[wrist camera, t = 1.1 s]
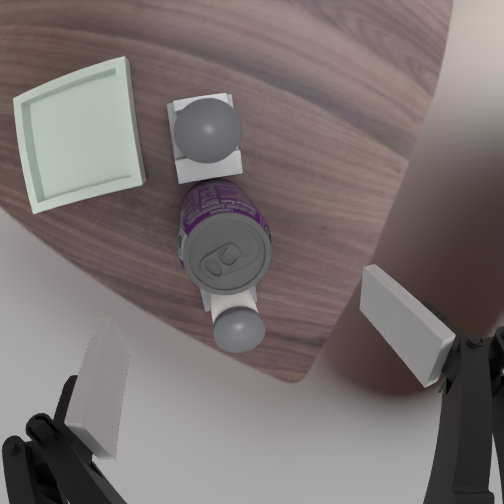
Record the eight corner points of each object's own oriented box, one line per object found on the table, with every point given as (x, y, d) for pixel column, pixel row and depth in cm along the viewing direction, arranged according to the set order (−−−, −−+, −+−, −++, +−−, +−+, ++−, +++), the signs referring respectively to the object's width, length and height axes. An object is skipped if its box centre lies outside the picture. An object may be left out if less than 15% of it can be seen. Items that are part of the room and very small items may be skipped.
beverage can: (209, 253, 33) (220, 317, 22) (167, 206, 30) (154, 251, 19) (260, 214, 32) (296, 261, 21) (221, 163, 29) (238, 184, 18)
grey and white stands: (167, 104, 26) (154, 91, 17) (230, 94, 26) (249, 78, 18) (205, 308, 36) (211, 366, 27) (256, 299, 36) (277, 353, 27)
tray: (24, 99, 21) (13, 98, 19) (129, 61, 23) (124, 55, 21) (43, 207, 27) (33, 214, 24) (146, 180, 28) (142, 185, 26)
